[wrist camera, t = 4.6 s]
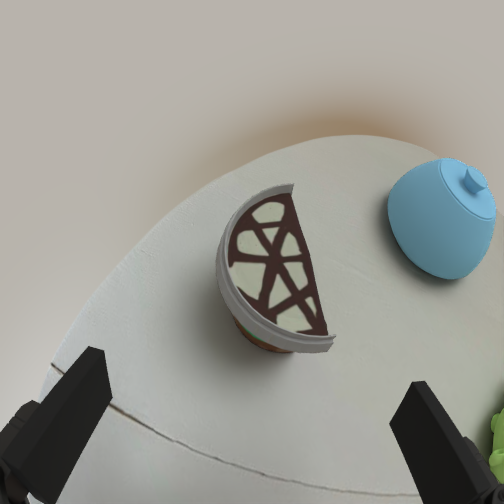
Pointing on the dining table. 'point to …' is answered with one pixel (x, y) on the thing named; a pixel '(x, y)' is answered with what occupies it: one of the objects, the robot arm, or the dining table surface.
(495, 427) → the teapot
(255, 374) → the dining table surface
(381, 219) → the dining table surface
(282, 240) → the food container
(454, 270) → the sugar bowl
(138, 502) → the dining table surface
